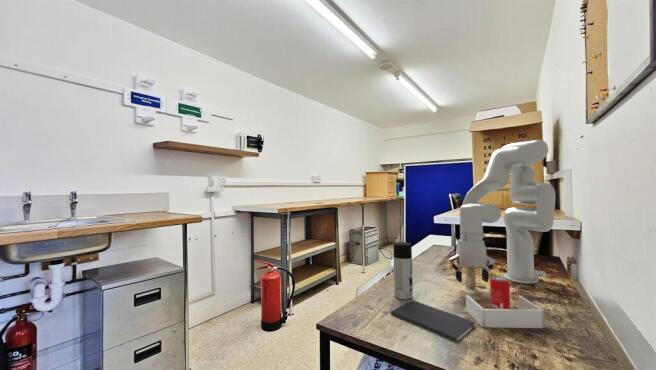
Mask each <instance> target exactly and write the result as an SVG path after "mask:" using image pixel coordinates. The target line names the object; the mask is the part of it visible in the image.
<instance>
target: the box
mask: <svg viewBox="0 0 656 370" xmlns="http://www.w3.org/2000/svg"><path fill="white" fill-rule="evenodd" d="M517 301H518V302H517V303H518V305H517V306H518V309H517V308H510V309H491V308H483V307H482V306H481V305H480V304H479V303H477V301H476V300H473V299H472V298H471V297H470V296H469V295H466V300H465V311H466V312H467V313H468V314H469V315H470V316H471V317H472V318H473V320H475V321H476V322H477V323H478V324H479V325H480V326H481V327H482V328H502V329H503V328H504V329H505V328H506V329H507V328H508V329H509V328H510V329H511V328H512V329H515V328H516V329H517V328H518V329H519V328H520V329H546V310H545V309H543V308H541V307H539V306H538V305H536V304H534V303H533V302H531V301H530V300H528V299H527V298H525V297H523V296H522V295H517Z"/></svg>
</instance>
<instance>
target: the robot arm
mask: <svg viewBox="0 0 656 370" xmlns="http://www.w3.org/2000/svg"><path fill="white" fill-rule="evenodd" d="M548 153H549V147H548V144H547V142H546V141H544V140H542V139H535V140H534V139H533V140H527V141H518V142H512V143H508V144H505V145H504V146H502V147H501V148H499V149H496V150H495V151H494V152H493V153H492V154H491V156H490V159H489V161H488V165H487V167H486V170H485V172H484V175H483V178H482V179H481V180H480V181H478V182H477V183H476V184H475V185H474V186H472V187H471V189H469V191H467V193H466V195H465V196H464V199H463V201H462V205H460V208H459V237H460V238H459V239H457V243H456V251H455V255H454V256H452V257H449V258H447V259H448V262H449V264H450V265H449V266H450V267H452V268H453V270H455V279H456V280H457V281H458V282H459V283H462V281H463V274H462V270H463V268H466V267H475V268H482V269H481V280H482V281H484V282H485V283H489V280H490V278H489V273H490V272H491V270H492V268H494V265H495V263H496V259H494V258H492V257H490V256H488V254H487V249H486V248H487V247H486V244H485V241H484V240H483V238H486V236H487V235H486V233H483V223H486V224H494V223H497V222H498V221H499V220H500V219H501V216H502V212H501V208H500V207H499V206H497V205H496V204H492V203H482V202H481V203H479V201H481V199H482V198H483V197H485V196H487V195H489V194H491V193H494V192H497V191H498V190H501V189H503V188H505V187H506V185H507V183H508V180H509V177H510V186H509V187H510V188H509V199H510V201H511V203H514V204H519V205H529V206H533V205H534V206H536V207H524V206H513V207H508V208H507V209H505V211H504V212H503V220H504V226H505V231H506V258H507V259H506V261H507V264H506V265H507V266H506V267H507V272H504V273H503V274H502V275H503V276H502V277H505V278H508V281H509V282H510V281H511V282H515V283H517V284H518V283H519V284H523V285H524V284H525V285H534V284H535V285H536V284H538V283H539V278H538V277H546V276H547V273H546V272H545V271H544V270H542V271H541V270H540V271H539V270H537V269H535V267H534V266H535V263H534V261H535V258H534V257H535V256H534V238H533V237H532V234H531V233H530V231H534V232H543V233H544V232H546V233H547V232H549V231H550V230H551V229H552V228H553V226H554V221H555V209H556V191H555V188H554V186H553V185H552V184H550V183H548V182H541V181H540V182H535V178H536V177H535V175H536V173H535V170H534V168H533V167H532V165H534V164H537V163H539V162H541V161H542V160H544V159H545V158H546V157H547V155H548ZM455 261H456V264H455ZM488 262H489V263H488Z"/></svg>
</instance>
